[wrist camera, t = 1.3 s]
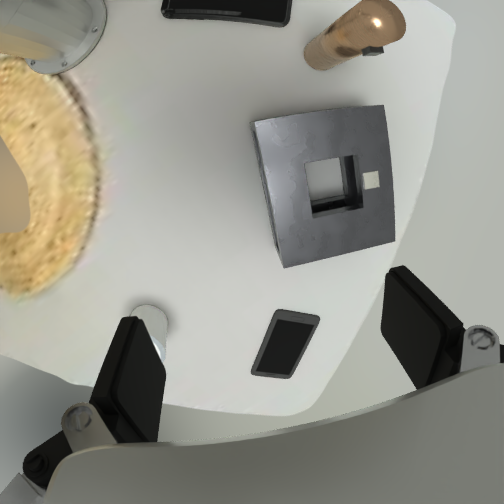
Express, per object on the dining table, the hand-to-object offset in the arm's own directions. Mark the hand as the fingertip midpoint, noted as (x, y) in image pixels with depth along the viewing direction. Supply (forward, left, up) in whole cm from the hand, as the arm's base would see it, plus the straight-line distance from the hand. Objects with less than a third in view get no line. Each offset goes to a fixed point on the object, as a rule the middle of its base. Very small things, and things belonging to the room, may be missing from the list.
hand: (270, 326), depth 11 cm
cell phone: (+26, +1, -28) cm, 38 cm away
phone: (-24, +4, -28) cm, 37 cm away
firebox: (+1, +10, -27) cm, 29 cm away
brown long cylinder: (-14, +13, -27) cm, 33 cm away
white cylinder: (+16, -17, -27) cm, 36 cm away
